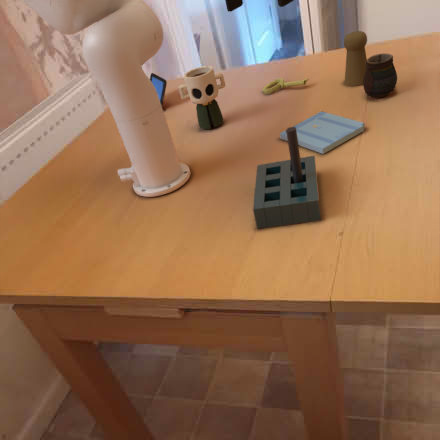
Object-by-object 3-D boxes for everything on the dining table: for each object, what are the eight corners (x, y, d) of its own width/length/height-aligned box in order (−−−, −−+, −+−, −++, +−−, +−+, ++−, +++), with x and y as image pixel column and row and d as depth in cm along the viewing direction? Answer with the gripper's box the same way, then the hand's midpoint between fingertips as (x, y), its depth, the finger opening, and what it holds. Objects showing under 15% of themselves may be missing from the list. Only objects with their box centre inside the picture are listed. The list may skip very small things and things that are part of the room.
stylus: (296, 201, 83) (286, 132, 74) (296, 197, 84) (286, 127, 76) (305, 200, 83) (296, 130, 74) (305, 195, 84) (296, 125, 75)
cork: (373, 75, 116) (372, 27, 109) (364, 86, 113) (363, 36, 106) (349, 76, 119) (347, 29, 112) (340, 86, 116) (337, 38, 109)
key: (307, 89, 120) (306, 80, 118) (261, 95, 124) (259, 87, 123) (312, 78, 124) (311, 70, 123) (267, 84, 129) (266, 76, 128)
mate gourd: (392, 85, 109) (392, 39, 103) (401, 97, 104) (402, 48, 97) (360, 92, 111) (359, 47, 104) (367, 104, 105) (366, 57, 98)
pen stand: (257, 229, 80) (252, 209, 77) (260, 183, 90) (257, 164, 88) (321, 220, 77) (318, 199, 75) (316, 174, 88) (314, 155, 85)
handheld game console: (127, 110, 141) (118, 85, 136) (159, 97, 143) (151, 71, 138) (140, 120, 132) (131, 94, 127) (174, 106, 134) (166, 79, 129)
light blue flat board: (367, 129, 96) (367, 123, 96) (323, 154, 93) (322, 148, 92) (321, 116, 106) (321, 110, 105) (280, 138, 102) (279, 133, 102)
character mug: (191, 137, 115) (176, 83, 106) (190, 126, 120) (175, 73, 112) (235, 124, 114) (222, 69, 106) (231, 114, 120) (219, 60, 111)
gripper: (168, -124, 63) (202, 18, 74) (272, -162, 52) (294, 11, 63) (204, -135, 66) (232, 2, 77) (309, -173, 55) (324, -8, 66)
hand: (260, 6), depth 70 cm, fingers open, 9 cm apart
